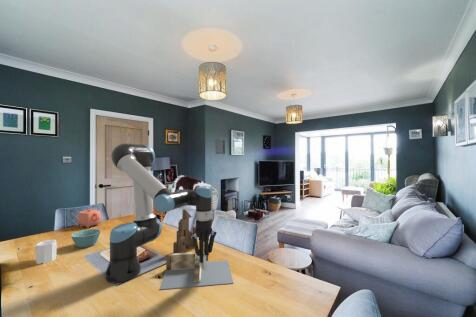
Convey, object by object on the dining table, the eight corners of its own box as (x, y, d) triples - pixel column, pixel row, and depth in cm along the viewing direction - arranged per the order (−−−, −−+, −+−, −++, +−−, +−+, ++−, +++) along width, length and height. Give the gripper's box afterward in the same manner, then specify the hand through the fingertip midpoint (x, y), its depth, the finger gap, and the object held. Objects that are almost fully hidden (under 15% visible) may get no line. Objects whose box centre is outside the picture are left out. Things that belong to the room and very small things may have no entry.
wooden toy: (181, 256, 123) (181, 213, 123) (173, 253, 126) (173, 211, 126) (198, 246, 137) (198, 207, 137) (190, 244, 140) (190, 206, 140)
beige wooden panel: (165, 270, 106) (165, 255, 106) (166, 268, 109) (166, 253, 109) (200, 268, 109) (200, 253, 109) (200, 266, 111) (200, 251, 111)
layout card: (159, 290, 91) (159, 289, 91) (168, 264, 112) (168, 264, 112) (233, 283, 96) (233, 282, 96) (227, 260, 117) (227, 260, 117)
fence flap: (196, 267, 108) (196, 254, 108) (200, 267, 109) (200, 253, 109) (194, 281, 96) (194, 265, 96) (199, 280, 97) (199, 265, 97)
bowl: (65, 247, 133) (65, 234, 134) (90, 239, 148) (90, 227, 148) (81, 252, 128) (81, 238, 128) (106, 242, 142) (106, 230, 142)
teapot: (71, 226, 176) (72, 209, 176) (87, 222, 188) (87, 206, 188) (90, 229, 168) (90, 211, 169) (105, 225, 180) (105, 208, 181)
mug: (60, 257, 120) (60, 240, 120) (42, 265, 111) (42, 246, 112) (44, 255, 123) (44, 238, 123) (26, 262, 115) (26, 244, 115)
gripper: (194, 223, 94) (194, 276, 94) (219, 218, 102) (219, 268, 101) (187, 219, 101) (187, 269, 100) (212, 215, 108) (212, 261, 108)
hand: (203, 268), depth 101 cm, fingers closed
